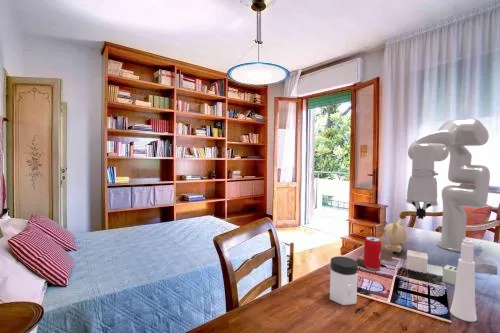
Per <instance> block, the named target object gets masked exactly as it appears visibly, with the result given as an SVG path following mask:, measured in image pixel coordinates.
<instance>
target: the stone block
mask: <svg viewBox="0 0 500 333" xmlns="http://www.w3.org/2000/svg"><path fill="white" fill-rule="evenodd" d="M460 258H461V255H459V257H458V260H459V259H460ZM473 262H475V273H479V274H491V275H497V274H498V271H499V269H498V265H497V264H496V263H495V262H492V261H491V260H487V259H485V258H484V257H483V256H477V255H473Z"/></svg>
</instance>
